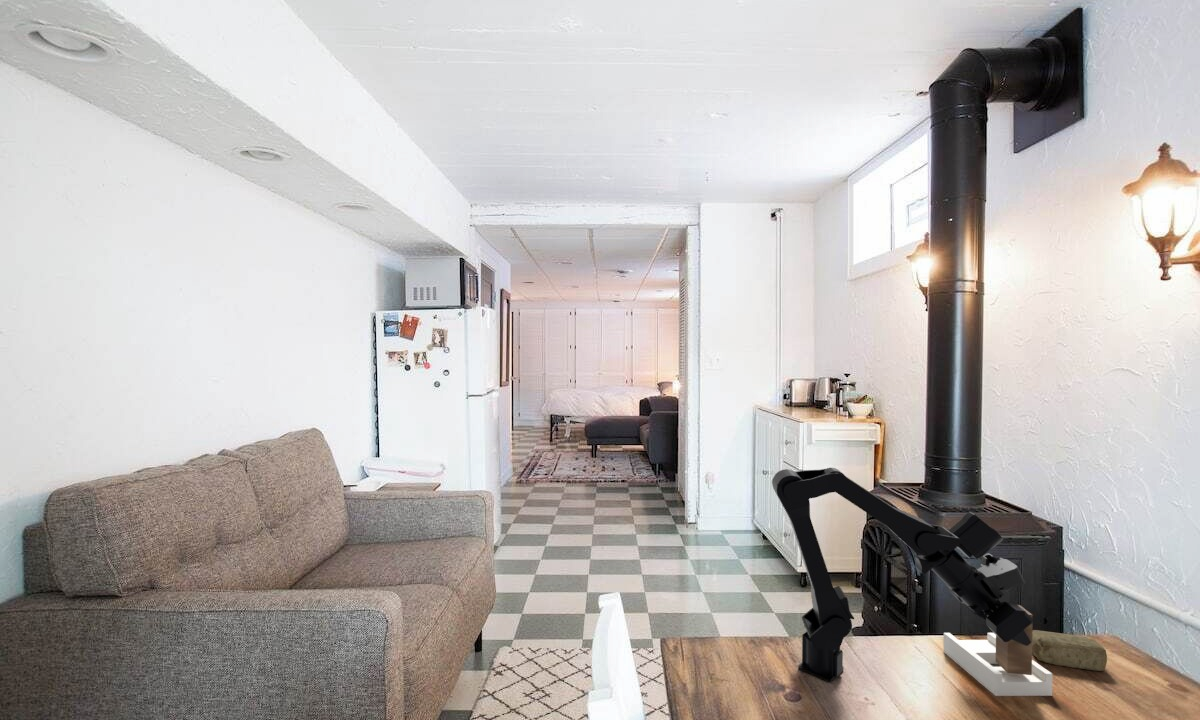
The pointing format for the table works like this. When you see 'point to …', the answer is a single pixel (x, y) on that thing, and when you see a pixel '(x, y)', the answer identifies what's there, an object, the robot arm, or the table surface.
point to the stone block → (1068, 650)
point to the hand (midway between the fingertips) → (1021, 638)
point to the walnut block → (1015, 653)
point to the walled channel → (996, 668)
